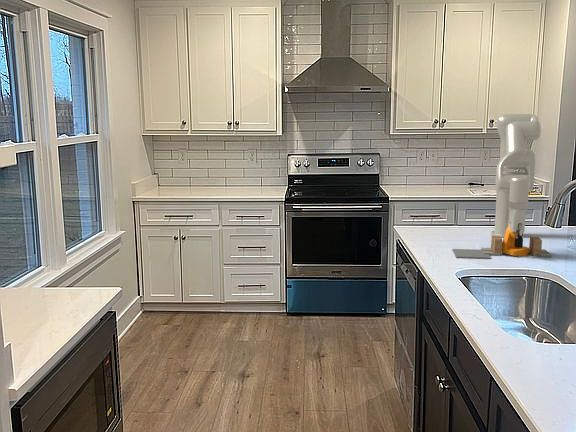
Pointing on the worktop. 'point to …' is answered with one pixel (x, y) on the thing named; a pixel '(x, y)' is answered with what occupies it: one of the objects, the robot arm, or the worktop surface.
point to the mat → (470, 253)
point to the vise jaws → (533, 244)
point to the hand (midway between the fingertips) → (515, 244)
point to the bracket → (512, 245)
